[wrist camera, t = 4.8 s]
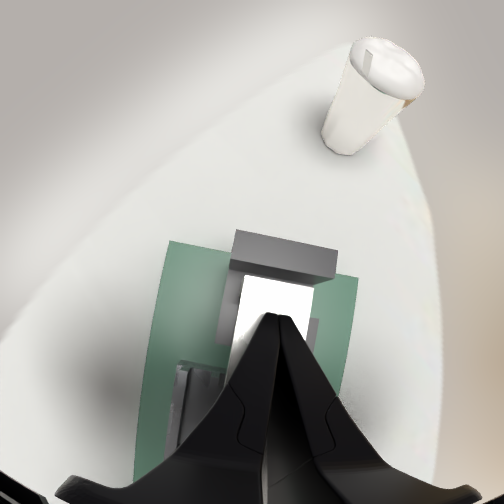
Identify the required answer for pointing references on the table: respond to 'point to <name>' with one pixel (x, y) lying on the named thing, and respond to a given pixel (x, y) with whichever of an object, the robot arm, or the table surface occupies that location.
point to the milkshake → (370, 93)
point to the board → (204, 332)
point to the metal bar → (251, 312)
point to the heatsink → (191, 400)
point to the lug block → (272, 274)
